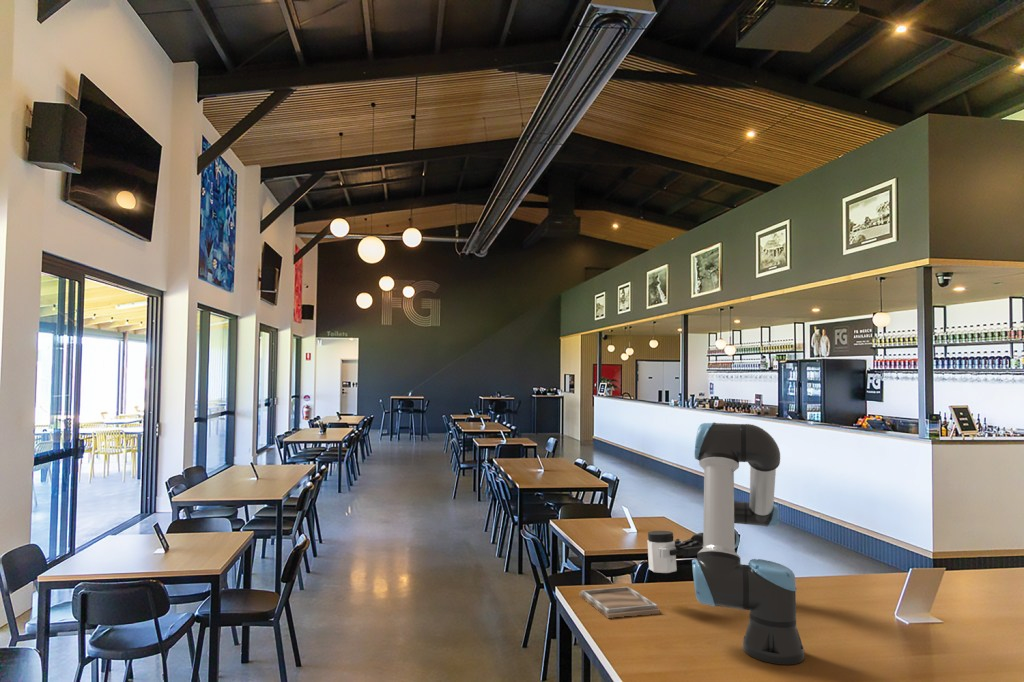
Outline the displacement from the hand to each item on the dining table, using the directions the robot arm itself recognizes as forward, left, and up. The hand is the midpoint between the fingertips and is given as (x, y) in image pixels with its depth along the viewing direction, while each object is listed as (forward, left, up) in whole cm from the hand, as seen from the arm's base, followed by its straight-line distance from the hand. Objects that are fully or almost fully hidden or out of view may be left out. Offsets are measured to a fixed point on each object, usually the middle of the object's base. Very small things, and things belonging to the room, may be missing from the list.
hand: (660, 553), depth 197 cm
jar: (+5, -4, -7) cm, 9 cm away
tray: (+9, +10, -18) cm, 23 cm away
